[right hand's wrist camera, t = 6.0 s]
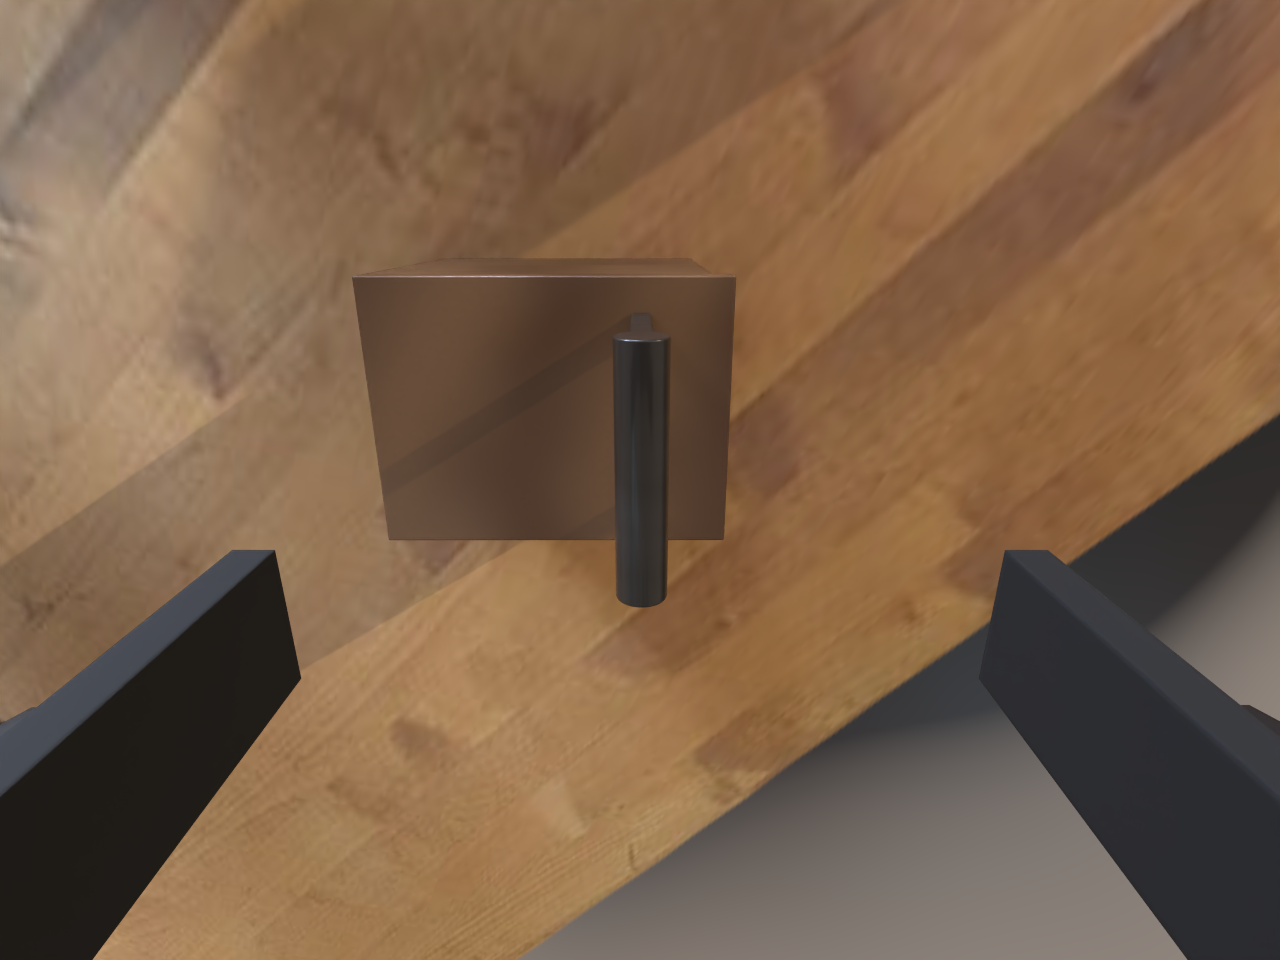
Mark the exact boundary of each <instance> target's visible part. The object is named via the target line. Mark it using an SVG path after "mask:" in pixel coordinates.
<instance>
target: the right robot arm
mask: <svg viewBox="0 0 1280 960" xmlns="http://www.w3.org/2000/svg"><path fill="white" fill-rule="evenodd" d="M300 679H301V675H300V670H299V665H298V661H297V656H296V651H295V646H294V641H293V636H292V631H291V626H290V622H289V617H288V612H287V607H286V602H285V597H284V592H283V587H282V582H281V578H280V573H279V568H278V563H277V558H276V553H275V550H232V551H231V552H229V553H228V554H227V555H226V556H224V557H223V558H222V559H221V560H219V561H218V562H217V563H216V564H215V565H213V566H212V567H211V568H210V569H208V570H207V571H206V572H205V573H203V574H202V575H201V576H200V577H198V578H197V579H196V580H195V581H193V582H192V583H191V584H190V585H188V586H187V587H186V588H185V589H183V590H182V591H181V592H180V593H178V594H177V595H176V596H175V597H173V598H172V599H171V600H170V601H169V602H167V603H166V604H165V605H164V606H162V607H161V608H160V609H159V610H157V611H156V612H155V613H154V614H152V615H151V616H150V617H149V618H147V619H146V620H145V621H144V622H142V623H141V624H140V625H139V626H137V627H136V628H135V629H134V630H132V631H131V632H130V633H129V634H128V635H126V636H125V637H124V638H123V639H121V640H120V641H119V642H118V643H116V644H115V645H114V646H113V647H111V648H110V649H109V650H108V651H106V652H105V653H104V654H103V655H101V656H100V657H99V658H98V659H96V660H95V661H94V662H93V663H91V664H90V665H89V666H88V667H86V668H85V669H84V670H83V671H82V672H80V673H79V674H78V675H77V676H75V677H74V678H73V679H72V680H70V681H69V682H68V683H67V684H65V685H64V686H63V687H62V688H60V689H59V690H58V691H57V692H55V693H54V694H53V695H52V696H50V697H49V698H48V699H47V700H45V701H44V702H43V703H42V704H41V705H39V706H38V707H37V708H30V709H28V710H26V711H24V712H22V713H21V714H19V715H17V716H15V717H13V718H11V719H9V720H8V721H6V722H4V723H2V724H0V960H93V958H94V957H95V956H96V954H97V953H98V951H99V950H100V949H101V947H102V946H103V945H104V943H105V942H106V941H107V939H108V938H109V937H110V935H111V934H112V933H113V931H114V930H115V929H116V927H117V926H118V925H119V923H120V922H121V921H122V919H123V918H124V916H125V915H126V914H127V912H128V911H129V910H130V908H131V907H132V906H133V904H134V903H135V902H136V900H137V899H138V898H139V896H140V895H141V894H142V892H143V891H144V890H145V888H146V887H147V885H148V884H149V883H150V881H151V880H152V879H153V877H154V876H155V875H156V873H157V872H158V871H159V869H160V868H161V867H162V865H163V864H164V863H165V861H166V860H167V859H168V857H169V856H170V855H171V853H172V852H173V850H174V849H175V848H176V846H177V845H178V844H179V842H180V841H181V840H182V838H183V837H184V836H185V834H186V833H187V832H188V830H189V829H190V828H191V826H192V825H193V824H194V822H195V821H196V819H197V818H198V817H199V815H200V814H201V813H202V811H203V810H204V809H205V807H206V806H207V805H208V803H209V802H210V801H211V799H212V798H213V797H214V795H215V794H216V793H217V791H218V790H219V789H220V787H221V786H222V784H223V783H224V782H225V780H226V779H227V778H228V776H229V775H230V774H231V772H232V771H233V770H234V768H235V767H236V766H237V764H238V763H239V762H240V760H241V759H242V758H243V756H244V755H245V754H246V752H247V751H248V749H249V748H250V747H251V745H252V744H253V743H254V741H255V740H256V739H257V737H258V736H259V735H260V733H261V732H262V731H263V729H264V728H265V727H266V725H267V724H268V723H269V721H270V720H271V718H272V717H273V716H274V714H275V713H276V712H277V710H278V709H279V708H280V706H281V705H282V704H283V702H284V701H285V700H286V698H287V697H288V696H289V694H290V693H291V692H292V690H293V689H294V688H295V686H296V685H297V683H298V682H299V681H300ZM979 679H980V681H981V682H982V683H983V685H984V686H985V688H986V689H987V690H988V692H989V693H990V694H991V696H992V697H993V698H994V700H995V701H996V702H997V704H998V705H999V706H1000V708H1001V709H1002V710H1003V712H1004V713H1005V714H1006V716H1007V717H1008V718H1009V720H1010V721H1011V723H1012V724H1013V725H1014V726H1015V728H1016V729H1017V731H1018V732H1019V733H1020V735H1021V736H1022V737H1023V739H1024V740H1025V741H1026V743H1027V744H1028V745H1029V747H1030V748H1031V749H1032V751H1033V752H1034V754H1035V755H1036V756H1037V757H1038V759H1039V760H1040V761H1041V763H1042V764H1043V766H1044V767H1045V768H1046V770H1047V771H1048V772H1049V774H1050V775H1051V776H1052V778H1053V779H1054V780H1055V782H1056V783H1057V784H1058V786H1059V787H1060V788H1061V790H1062V791H1063V793H1064V794H1065V795H1066V797H1067V798H1068V799H1069V801H1070V802H1071V803H1072V805H1073V806H1074V807H1075V809H1076V810H1077V811H1078V813H1079V814H1080V815H1081V817H1082V818H1083V819H1084V821H1085V822H1086V823H1087V825H1088V826H1089V828H1090V829H1091V830H1092V832H1093V833H1094V834H1095V836H1096V837H1097V838H1098V840H1099V841H1100V842H1101V844H1102V845H1103V846H1104V848H1105V849H1106V850H1107V852H1108V853H1109V854H1110V856H1111V857H1112V858H1113V860H1114V861H1115V863H1116V864H1117V865H1118V867H1119V868H1120V869H1121V871H1122V872H1123V873H1124V875H1125V876H1126V877H1127V879H1128V880H1129V881H1130V883H1131V884H1132V885H1133V887H1134V888H1135V890H1136V891H1137V892H1138V894H1139V895H1140V896H1141V898H1142V899H1143V900H1144V902H1145V903H1146V904H1147V906H1148V907H1149V908H1150V910H1151V911H1152V912H1153V914H1154V915H1155V916H1156V918H1157V919H1158V920H1159V922H1160V923H1161V925H1162V926H1163V927H1164V929H1165V930H1166V931H1167V933H1168V934H1169V935H1170V937H1171V938H1172V939H1173V941H1174V942H1175V943H1176V945H1177V946H1178V947H1179V949H1180V950H1181V951H1182V953H1183V954H1184V955H1185V957H1186V958H1187V960H1280V721H1278V720H1276V719H1274V718H1272V717H1271V716H1269V715H1267V714H1265V713H1263V712H1261V711H1259V710H1258V709H1256V708H1254V707H1252V706H1250V705H1239V704H1238V703H1237V702H1236V701H1235V700H1233V699H1232V698H1231V697H1229V696H1228V695H1227V694H1226V693H1225V692H1223V691H1222V690H1221V689H1220V688H1218V687H1217V686H1216V685H1215V684H1213V683H1212V682H1211V681H1210V680H1208V679H1207V678H1206V677H1205V676H1203V675H1202V674H1201V673H1200V672H1198V671H1197V670H1196V669H1195V668H1194V667H1192V666H1191V665H1190V664H1189V663H1187V662H1186V661H1185V660H1184V659H1182V658H1181V657H1180V656H1179V655H1177V654H1176V653H1175V652H1174V651H1172V650H1171V649H1170V648H1169V647H1167V646H1166V645H1165V644H1164V643H1162V642H1161V641H1160V640H1159V639H1157V638H1156V637H1155V636H1154V635H1152V634H1151V633H1150V632H1149V631H1148V630H1146V629H1145V628H1144V627H1143V626H1141V625H1140V624H1139V623H1138V622H1136V621H1135V620H1134V619H1133V618H1131V617H1130V616H1129V615H1127V614H1126V613H1125V612H1124V611H1123V610H1121V609H1120V608H1119V607H1118V606H1116V605H1115V604H1114V603H1113V602H1111V601H1110V600H1109V599H1108V598H1107V597H1105V596H1104V595H1103V594H1102V593H1100V592H1099V591H1098V590H1097V589H1095V588H1094V587H1093V586H1092V585H1090V584H1089V583H1088V582H1087V581H1085V580H1084V579H1083V578H1082V577H1080V576H1079V575H1078V574H1077V573H1075V572H1074V571H1073V570H1072V569H1070V568H1069V567H1068V566H1067V565H1065V564H1064V563H1063V562H1062V561H1061V560H1059V559H1058V558H1057V557H1056V556H1054V555H1053V554H1052V553H1051V552H1049V551H1048V550H1005V553H1004V558H1003V563H1002V568H1001V573H1000V578H999V582H998V587H997V592H996V597H995V602H994V607H993V612H992V617H991V622H990V627H989V631H988V636H987V641H986V646H985V651H984V656H983V661H982V666H981V670H980V675H979Z"/></svg>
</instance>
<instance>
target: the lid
mask: <svg viewBox="0 0 1280 960" xmlns="http://www.w3.org/2000/svg"><path fill="white" fill-rule="evenodd" d="M352 279H353V286H354V293H355V300H356V307H357V314H358V322H359V329H360V336H361V343H362V350H363V357H364V364H365V372H366V379H367V386H368V393H369V400H370V407H371V414H372V422H373V429H374V436H375V443H376V450H377V457H378V464H379V472H380V479H381V486H382V493H383V500H384V507H385V514H386V522H387V529H388V536H389V540H615V547H616V596H617V598H618V599H619V601H621V602H622V603H624V604H626V605H628V606H632V607H651V606H655V605H657V604H660V603H661V602H663V601H664V600H665V598H666V596H667V557H668V540H723V539H724V525H725V503H726V482H727V460H728V439H729V418H730V396H731V375H732V354H733V332H734V311H735V289H736V276H734V275H732V274H361V275H356V276H353V277H352Z"/></svg>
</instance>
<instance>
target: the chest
mask: <svg viewBox="0 0 1280 960" xmlns="http://www.w3.org/2000/svg"><path fill="white" fill-rule="evenodd" d="M367 274H711V273H710V272H709V271H707V270H706V269H704V268H703V267H701V266H700V265H699V264H697V263H696V262H694V261H693V260H692V259H441V260H436V261H431V262H425V263H420V264H415V265H410V266H404V267H399V268H394V269H388V270H383V271H378V272H372V273H367Z"/></svg>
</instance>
